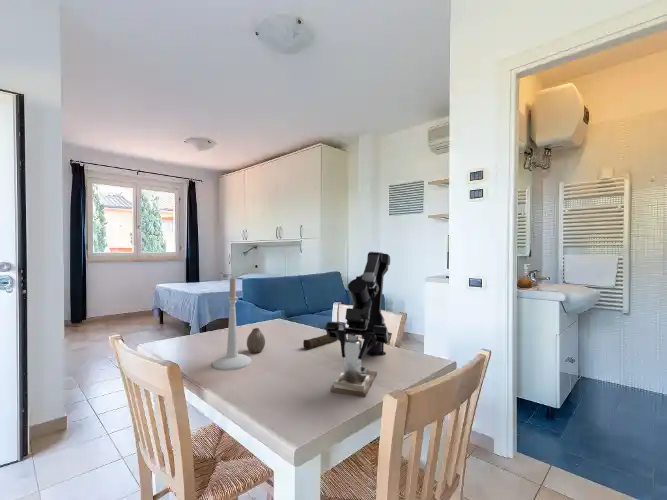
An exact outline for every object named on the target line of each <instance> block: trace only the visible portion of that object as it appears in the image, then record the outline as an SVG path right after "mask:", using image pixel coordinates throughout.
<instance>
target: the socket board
mask: <svg viewBox="0 0 667 500" xmlns="http://www.w3.org/2000/svg"><path fill="white" fill-rule="evenodd" d="M369 368H370V367H368V366H364V365H363V366H362V365H361V380H360V381H359V382H347V381H345V380H344V371H341V372H340V374H339V376H338V377H337V378H336V379H335V380H334V382H333V385H332V386H331V387H330V393H337V394H343V395H349V396H350V395H351V396H356V397H363V398H366V397H367V395H368V393H369V391H370V388H371V386H372V385H373V383H374V382H375V379H376V377H377V374H378V371H376V370H369Z"/></svg>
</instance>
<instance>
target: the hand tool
mask: <svg viewBox="0 0 667 500" xmlns="http://www.w3.org/2000/svg"><path fill="white" fill-rule="evenodd" d="M337 341H339V340H338V339H337V338H330V337H329V336H328V334H327V333H326V334H324V335H321V336H317V337H312V338H310V339H309V338H308V339H304V340H303V342H302V343H303V349H306V350H310V349H313V348H315V347H318V346H321V345H325V344H327V343H329V344H332V343H335V342H337Z"/></svg>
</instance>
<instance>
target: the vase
mask: <svg viewBox="0 0 667 500" xmlns="http://www.w3.org/2000/svg"><path fill="white" fill-rule="evenodd" d="M265 345H266V338H265V335H264V334H263V333H262V331H261V329H260V328H258V327H254V328H252V330H251V332H250V333H249V334H248V336H247V339H246V347H247V350H248V351H249V352H250V353H252V354H258V353H261V352H262V351H264V348H265Z"/></svg>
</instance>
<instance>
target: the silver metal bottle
mask: <svg viewBox="0 0 667 500" xmlns="http://www.w3.org/2000/svg"><path fill="white" fill-rule="evenodd" d="M362 345H363V341H361V340H360V339H359V335H358V334H355V333H350V334H347V340H345V341H344V358H343V372H344V380H345V381H347V382H359V381H360V380H361V366H362V360H360V352H361V349H362Z"/></svg>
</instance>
